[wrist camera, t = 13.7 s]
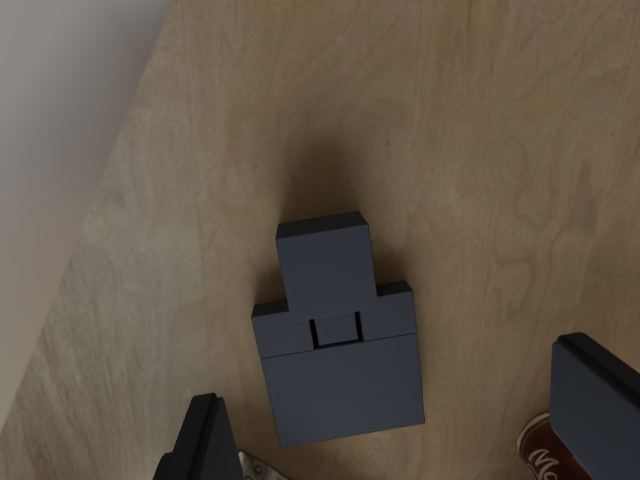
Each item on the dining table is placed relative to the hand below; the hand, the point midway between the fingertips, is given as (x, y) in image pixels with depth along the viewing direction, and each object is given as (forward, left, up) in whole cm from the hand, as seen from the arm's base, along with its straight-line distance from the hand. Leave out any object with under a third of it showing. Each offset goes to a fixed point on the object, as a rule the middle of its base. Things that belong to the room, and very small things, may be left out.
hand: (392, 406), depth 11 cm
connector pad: (+3, -1, -19) cm, 19 cm away
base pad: (+11, -1, -19) cm, 22 cm away
